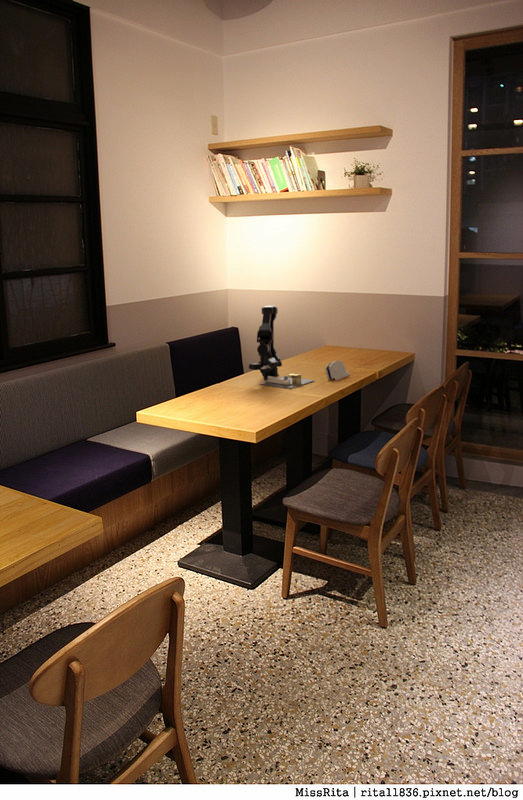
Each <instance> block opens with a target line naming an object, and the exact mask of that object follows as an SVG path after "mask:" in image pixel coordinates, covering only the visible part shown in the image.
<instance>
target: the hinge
mask: <svg viewBox="0 0 523 800" xmlns="http://www.w3.org/2000/svg"><path fill="white" fill-rule="evenodd" d="M324 370H325V374H326V377H327V381H330V380H333V379H334V380H335V381H339V380H341V379H343V378H346V377H348V376H350V373H349V371H347V369H346V367H345V364H344V362H343V360H342V361H341V360H335V361H331V362H330V363H328V364H327V365H326V366H325V368H324Z"/></svg>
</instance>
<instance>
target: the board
mask: <svg viewBox="0 0 523 800" xmlns="http://www.w3.org/2000/svg"><path fill="white" fill-rule="evenodd" d="M284 376H285V375H283V376H281V377H279V378H284ZM288 379H290V384H289V385H282V384H278V383H273V382H267V381H263V382H260V383H259V385H260V386H267V387H276V388H281V389H288V388H289V389H288V390H293V389H296V388H298V386H299V387H301V386H304V385H307V384H310V383H313V382H314V383H315V380H314V379H306V378H301V383H300V384H292V378H288ZM295 387H296V388H295Z"/></svg>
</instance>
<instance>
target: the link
mask: <svg viewBox="0 0 523 800" xmlns="http://www.w3.org/2000/svg"><path fill="white" fill-rule="evenodd" d="M283 376H284V378H280V377H278V376H274V377H272V376H268V377H267V382H273V383H278V384H282V385H289V384H290V379H288V375H283Z"/></svg>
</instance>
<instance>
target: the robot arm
mask: <svg viewBox="0 0 523 800" xmlns="http://www.w3.org/2000/svg"><path fill="white" fill-rule="evenodd" d="M278 312H279V311H278V307H276V305H264V306H263V307H261V314H262V315H263V316H262V320H261V325H260V326H259V327H258V330H257V332H256V343H259V345H258V346H257V349H256V350H257V351H256V352H257V353H258V357H259V361H258V363H256V362H254V363H253V362H252V363H249V364H248V370H252V371H259V372H260V374H261V375H262V377H263V379H264V382H266V381H267V377H268V376H272V377H278V376H279V375H280V374H278V371H279V370H278V369H279V368H278V367H282V366H283V363H282V361H281V358H280V357H279V355H278V354H277V350H276V349H275V336H274V335H275V330H274V329H275V320H276V319H277V315H278Z"/></svg>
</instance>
